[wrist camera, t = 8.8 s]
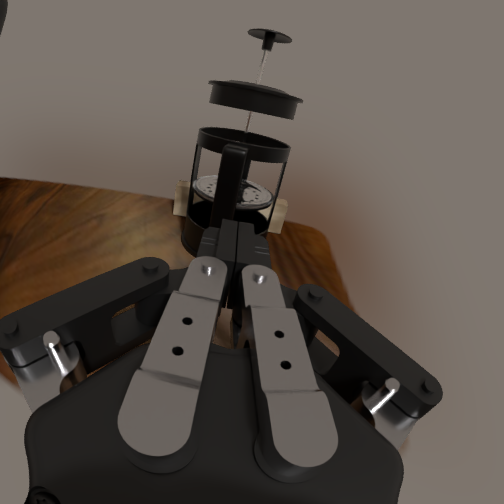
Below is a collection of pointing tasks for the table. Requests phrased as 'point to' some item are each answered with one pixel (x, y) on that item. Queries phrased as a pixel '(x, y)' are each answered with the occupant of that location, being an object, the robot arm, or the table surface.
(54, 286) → the table surface
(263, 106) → the french press
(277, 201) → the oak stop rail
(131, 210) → the table surface
